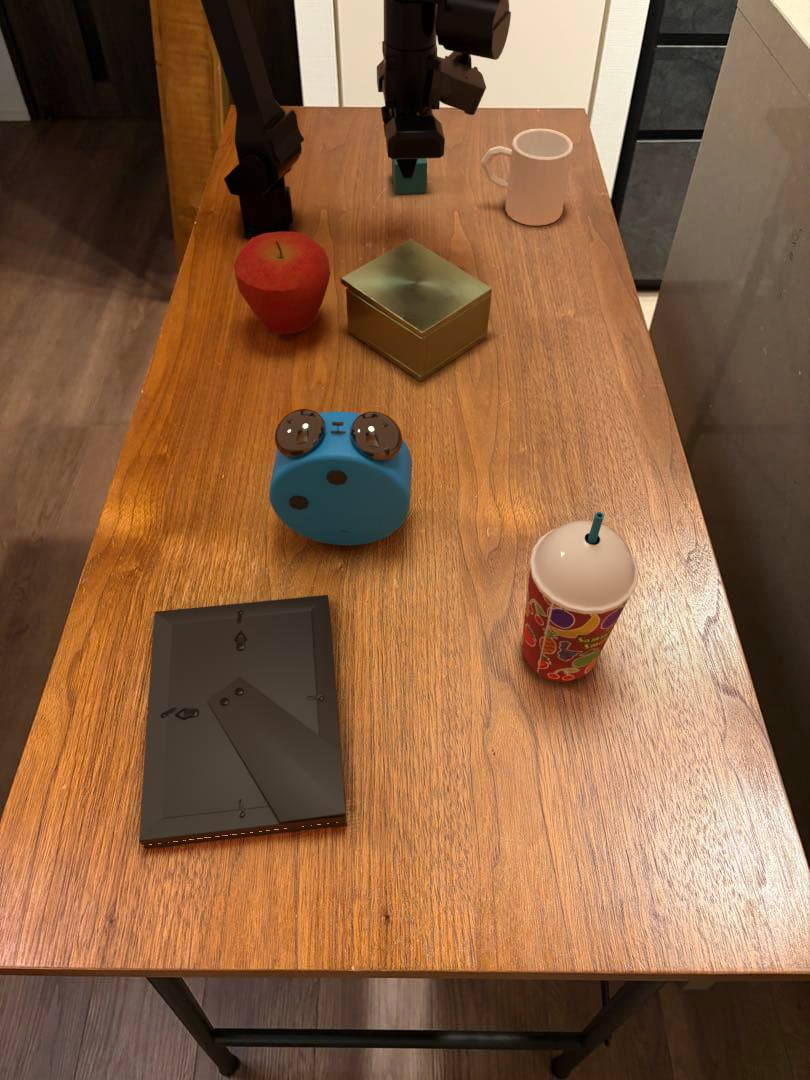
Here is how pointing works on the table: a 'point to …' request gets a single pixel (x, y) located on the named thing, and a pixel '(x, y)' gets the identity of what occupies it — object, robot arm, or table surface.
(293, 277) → the apple
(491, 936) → the table surface
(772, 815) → the table surface
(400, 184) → the block
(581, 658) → the smoothie
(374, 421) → the alarm clock
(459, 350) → the brass box
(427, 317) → the lid
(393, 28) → the robot arm
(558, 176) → the mug
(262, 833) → the picture frame
